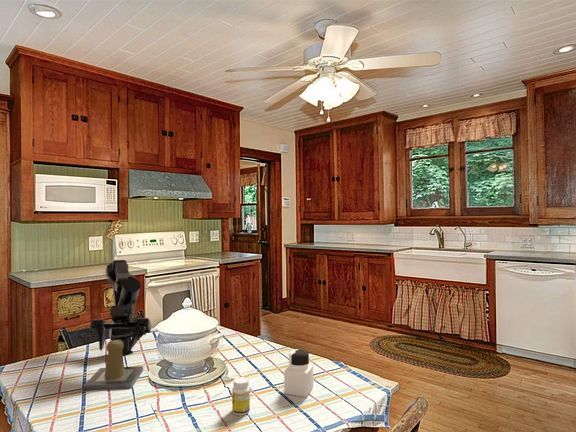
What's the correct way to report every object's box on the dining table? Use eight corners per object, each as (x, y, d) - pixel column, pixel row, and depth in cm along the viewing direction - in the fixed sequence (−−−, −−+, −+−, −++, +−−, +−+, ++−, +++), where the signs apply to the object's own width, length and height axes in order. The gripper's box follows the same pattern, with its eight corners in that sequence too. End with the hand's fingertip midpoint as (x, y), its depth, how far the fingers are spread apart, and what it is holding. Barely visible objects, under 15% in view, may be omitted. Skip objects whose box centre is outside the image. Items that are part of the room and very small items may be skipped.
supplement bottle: (232, 407, 104) (232, 376, 104) (249, 406, 105) (250, 376, 105) (231, 416, 99) (231, 384, 100) (249, 415, 100) (249, 383, 100)
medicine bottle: (313, 387, 117) (313, 348, 117) (306, 397, 110) (306, 356, 110) (291, 384, 119) (291, 346, 119) (283, 394, 112) (284, 353, 113)
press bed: (100, 372, 128) (100, 367, 128) (143, 370, 130) (143, 365, 130) (83, 390, 114) (83, 385, 114) (131, 388, 116) (131, 382, 116)
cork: (128, 371, 125) (129, 338, 125) (118, 379, 119) (119, 344, 119) (111, 370, 126) (112, 337, 126) (100, 378, 120) (101, 343, 120)
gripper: (92, 295, 127) (77, 338, 116) (149, 294, 129) (140, 336, 118) (100, 313, 135) (87, 355, 124) (154, 311, 137) (146, 353, 126)
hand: (115, 349), depth 123 cm, fingers open, 9 cm apart
